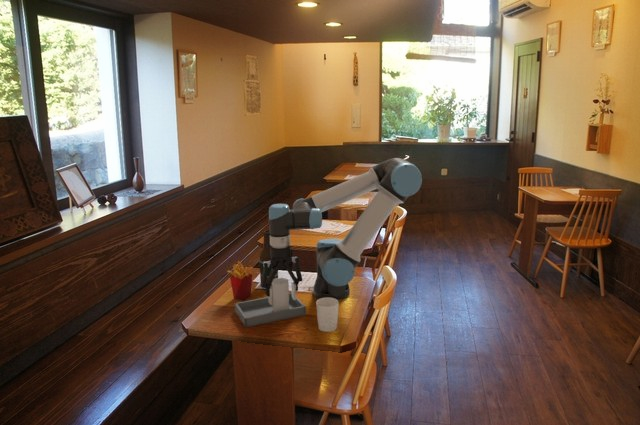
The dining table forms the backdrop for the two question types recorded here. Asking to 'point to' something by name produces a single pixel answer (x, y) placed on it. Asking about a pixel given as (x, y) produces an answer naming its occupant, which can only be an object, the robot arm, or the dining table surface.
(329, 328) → the white cup
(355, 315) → the dining table surface
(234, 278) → the french fries
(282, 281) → the mug
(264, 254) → the beer bottle
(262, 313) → the tray
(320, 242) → the robot arm
